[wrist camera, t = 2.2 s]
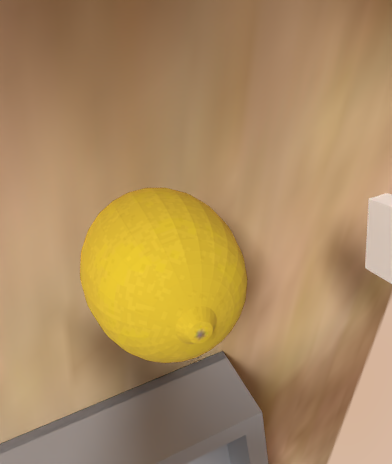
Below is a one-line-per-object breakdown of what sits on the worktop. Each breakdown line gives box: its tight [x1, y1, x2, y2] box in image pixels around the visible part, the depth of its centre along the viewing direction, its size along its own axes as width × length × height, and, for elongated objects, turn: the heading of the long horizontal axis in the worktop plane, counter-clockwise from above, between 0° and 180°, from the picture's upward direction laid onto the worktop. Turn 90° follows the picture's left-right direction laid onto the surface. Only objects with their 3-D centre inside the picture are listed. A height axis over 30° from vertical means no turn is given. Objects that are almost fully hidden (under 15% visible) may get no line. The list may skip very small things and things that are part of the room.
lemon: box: [80, 188, 247, 363], centre depth 13 cm, size 6×6×8 cm
